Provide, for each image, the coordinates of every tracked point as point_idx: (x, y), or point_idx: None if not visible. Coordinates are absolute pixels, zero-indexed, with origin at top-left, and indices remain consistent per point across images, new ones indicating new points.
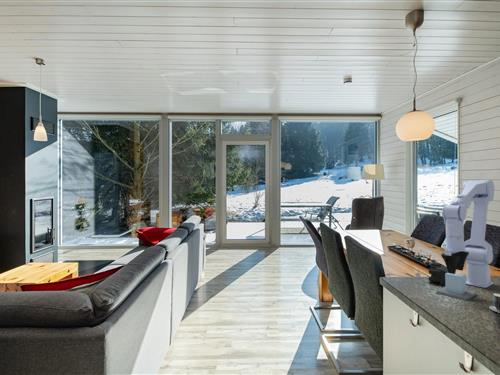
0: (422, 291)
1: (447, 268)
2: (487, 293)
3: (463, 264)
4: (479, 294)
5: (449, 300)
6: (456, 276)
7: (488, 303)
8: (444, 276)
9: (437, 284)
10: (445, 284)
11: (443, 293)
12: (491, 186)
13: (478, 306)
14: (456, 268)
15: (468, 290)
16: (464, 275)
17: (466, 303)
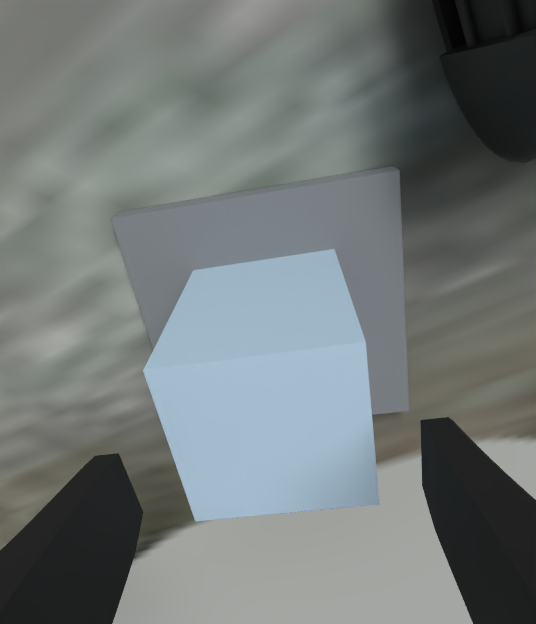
0: (30, 91)
1: (46, 513)
2: (506, 422)
3: (464, 601)
4: (425, 405)
5: (64, 365)
6: (183, 479)
7: None
8: (502, 114)
9: (439, 18)
10: (179, 298)
11: (135, 279)
12: None
13: (144, 496)
14: (427, 437)
15: (394, 366)
16: (322, 502)
17: (125, 445)
